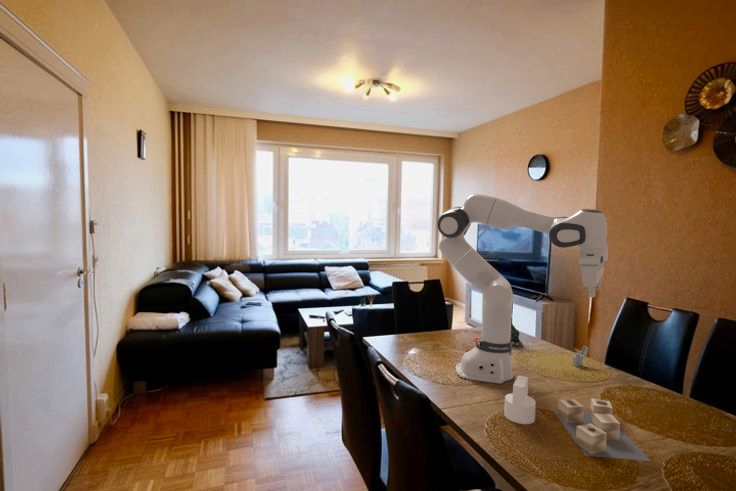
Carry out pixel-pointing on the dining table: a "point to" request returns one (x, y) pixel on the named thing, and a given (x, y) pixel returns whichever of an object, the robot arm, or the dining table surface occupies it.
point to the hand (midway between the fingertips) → (594, 292)
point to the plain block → (607, 425)
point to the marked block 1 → (571, 411)
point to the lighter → (580, 357)
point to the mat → (608, 442)
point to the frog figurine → (515, 337)
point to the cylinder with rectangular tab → (520, 403)
